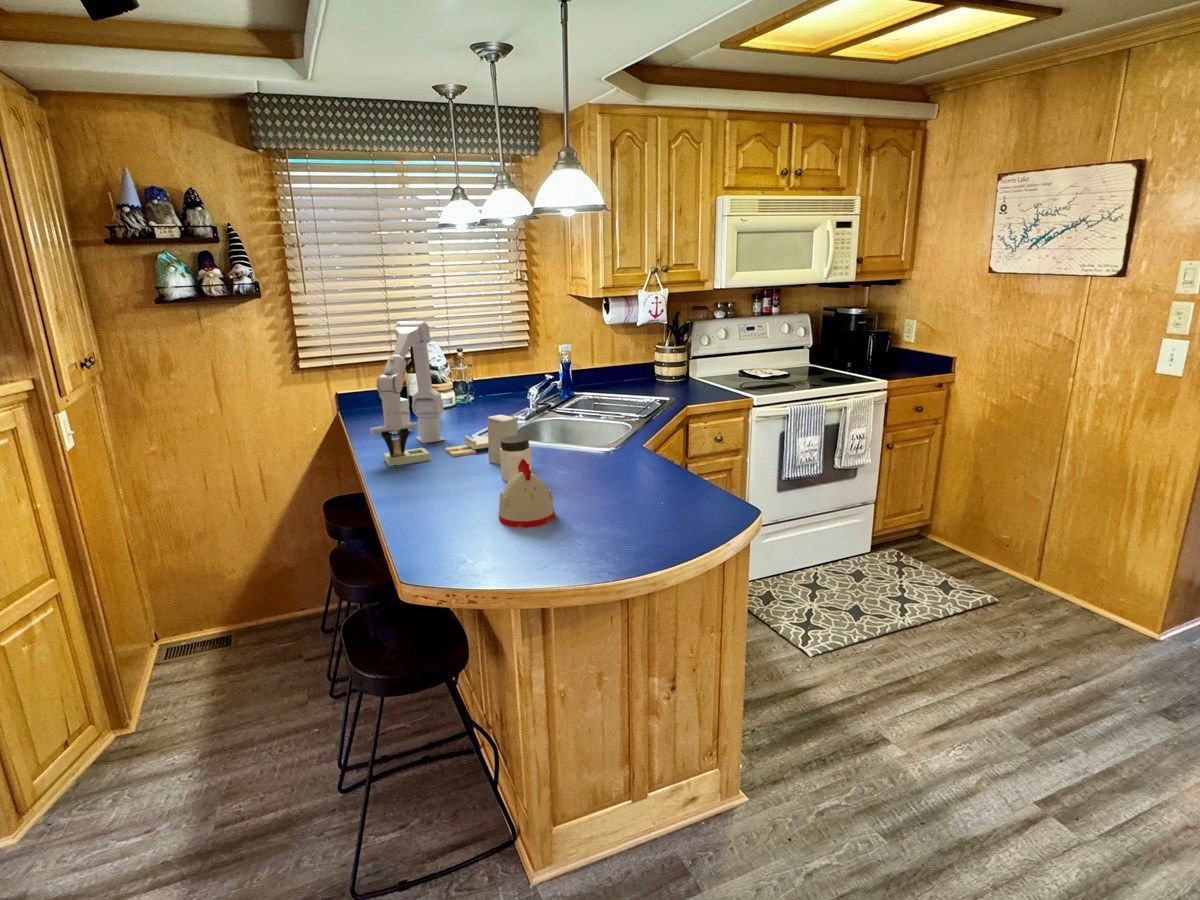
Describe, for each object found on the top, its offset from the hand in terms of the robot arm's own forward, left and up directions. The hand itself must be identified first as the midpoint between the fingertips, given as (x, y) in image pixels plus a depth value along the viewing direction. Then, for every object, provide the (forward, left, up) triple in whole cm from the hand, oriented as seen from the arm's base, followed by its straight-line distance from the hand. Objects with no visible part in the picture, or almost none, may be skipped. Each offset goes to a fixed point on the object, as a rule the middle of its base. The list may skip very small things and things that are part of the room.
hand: (397, 453), depth 225 cm
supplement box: (-42, +10, -3) cm, 43 cm away
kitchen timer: (+69, +16, -3) cm, 71 cm away
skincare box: (+20, +29, -3) cm, 35 cm away
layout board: (0, +21, -3) cm, 21 cm away
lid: (0, +28, -1) cm, 28 cm away
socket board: (0, +3, -3) cm, 4 cm away
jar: (+38, +26, -3) cm, 46 cm away
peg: (0, 0, -2) cm, 2 cm away
